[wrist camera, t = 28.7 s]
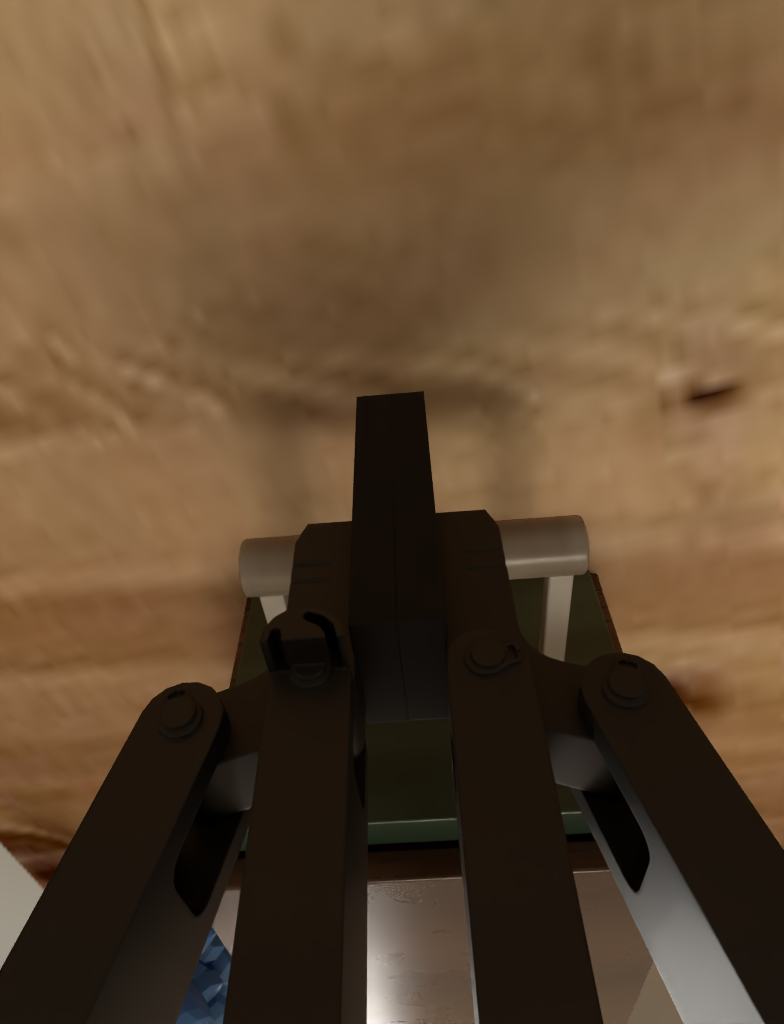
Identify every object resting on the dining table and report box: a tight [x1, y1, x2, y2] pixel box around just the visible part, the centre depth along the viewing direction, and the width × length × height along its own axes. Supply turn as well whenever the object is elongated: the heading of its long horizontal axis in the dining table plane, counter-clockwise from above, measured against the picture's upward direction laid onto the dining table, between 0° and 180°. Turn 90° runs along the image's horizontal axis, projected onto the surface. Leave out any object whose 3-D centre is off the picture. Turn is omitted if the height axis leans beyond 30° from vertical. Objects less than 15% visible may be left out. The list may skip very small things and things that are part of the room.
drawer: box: [235, 515, 616, 851], centre depth 23 cm, size 20×11×8 cm, turn 5°
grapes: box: [176, 927, 231, 1024], centre depth 32 cm, size 12×7×12 cm, turn 7°
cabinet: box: [212, 575, 654, 1024], centre depth 26 cm, size 15×13×10 cm
